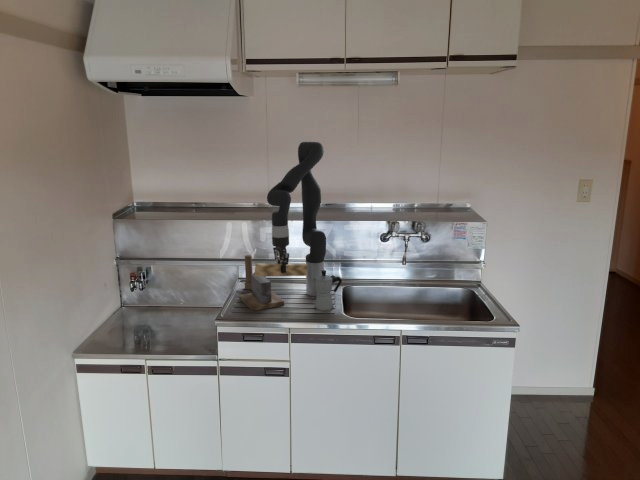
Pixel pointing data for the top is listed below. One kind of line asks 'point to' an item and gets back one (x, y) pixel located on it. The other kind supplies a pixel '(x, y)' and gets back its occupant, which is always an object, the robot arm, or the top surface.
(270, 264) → the oak bar
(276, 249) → the robot arm
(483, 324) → the top surface
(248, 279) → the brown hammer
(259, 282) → the ridge stand
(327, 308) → the coffee maker
